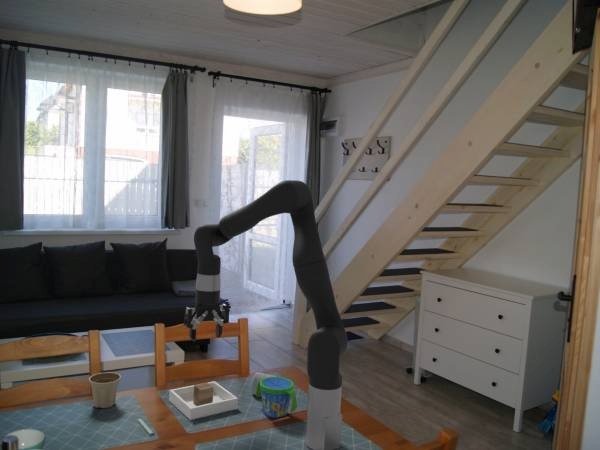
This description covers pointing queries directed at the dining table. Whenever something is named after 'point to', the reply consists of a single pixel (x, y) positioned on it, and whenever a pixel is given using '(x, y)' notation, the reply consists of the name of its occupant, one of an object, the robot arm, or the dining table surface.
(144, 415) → the dining table surface
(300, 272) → the robot arm
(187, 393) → the white bin
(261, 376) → the ceramic mug
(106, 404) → the flower pot
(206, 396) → the walnut block
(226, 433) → the dining table surface
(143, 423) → the sage mat
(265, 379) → the snack cup
